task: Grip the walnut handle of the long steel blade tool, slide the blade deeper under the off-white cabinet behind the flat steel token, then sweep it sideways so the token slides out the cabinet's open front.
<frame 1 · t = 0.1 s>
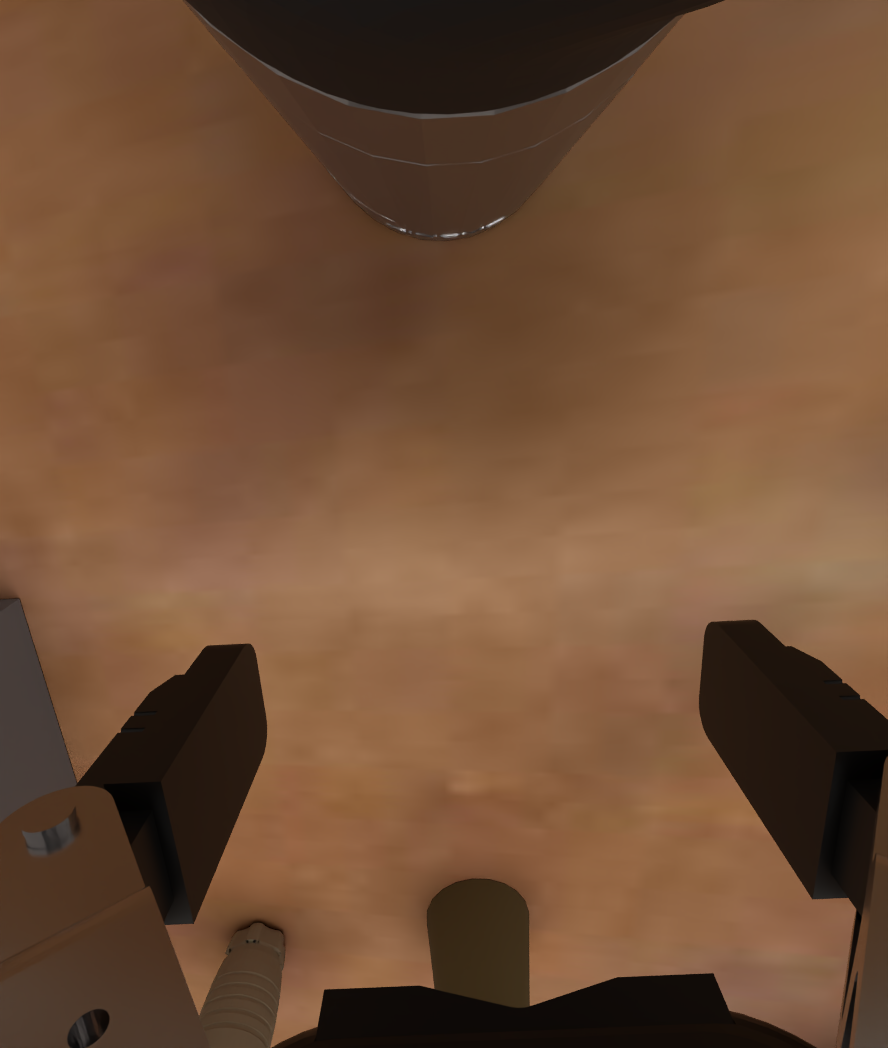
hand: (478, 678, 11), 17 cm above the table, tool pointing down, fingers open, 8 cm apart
handle: (261, 935, 37), on the table
cork: (477, 914, 37), on the table
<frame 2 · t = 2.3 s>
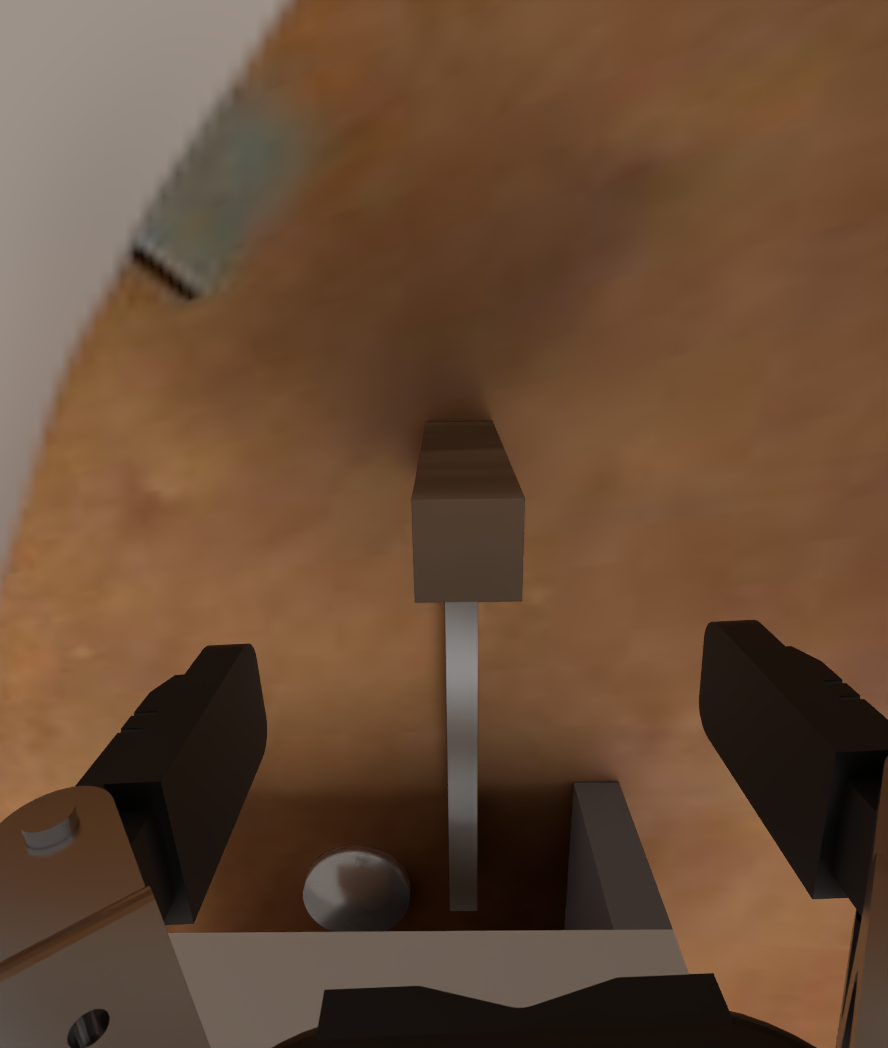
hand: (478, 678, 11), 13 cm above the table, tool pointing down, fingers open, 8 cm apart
blade tool: (459, 453, 23), on the table
token: (359, 879, 30), on the table
cabinet: (422, 946, 31), on the table
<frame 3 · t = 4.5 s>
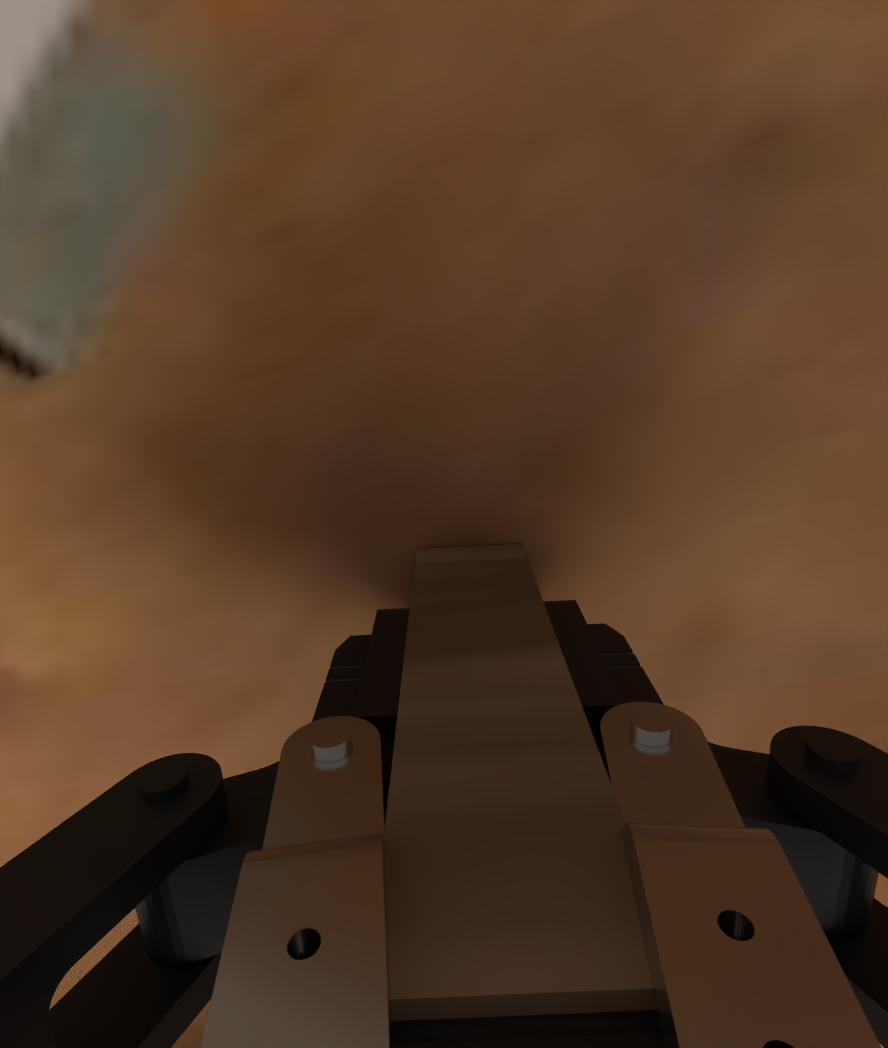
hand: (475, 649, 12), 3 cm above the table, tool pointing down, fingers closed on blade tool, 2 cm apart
blade tool: (471, 594, 15), on the table, touching gripper
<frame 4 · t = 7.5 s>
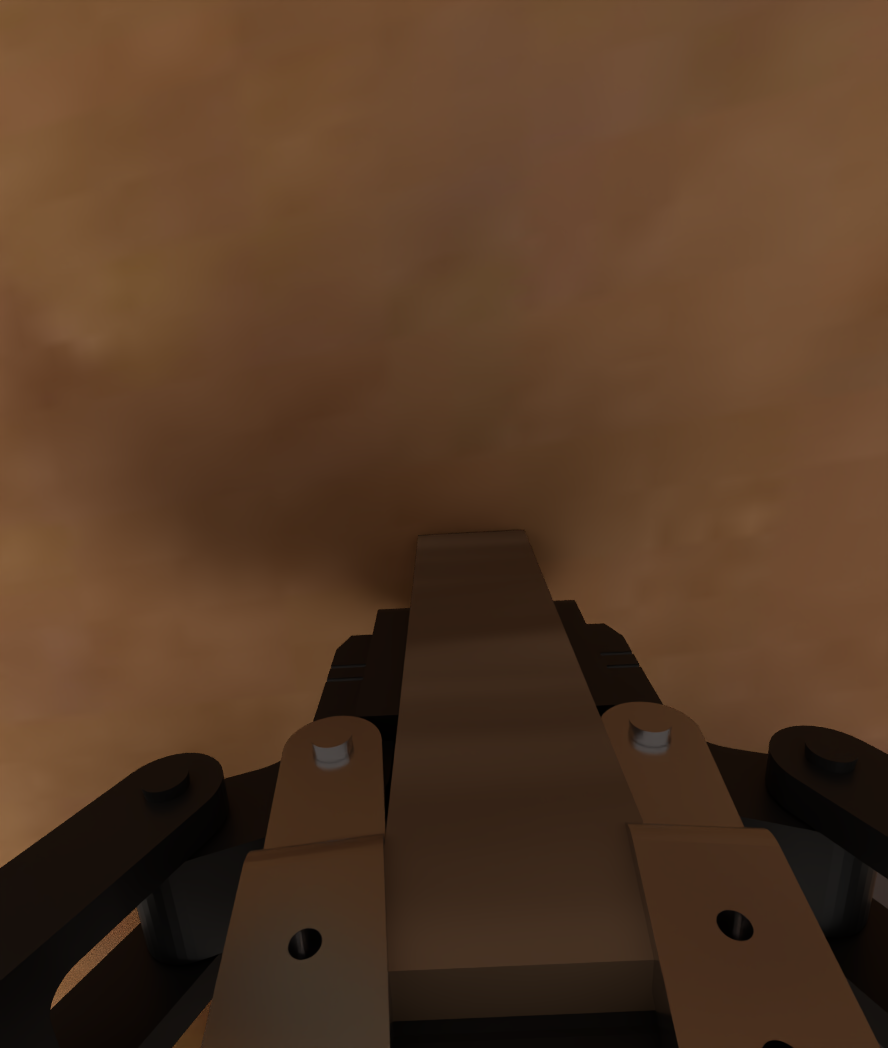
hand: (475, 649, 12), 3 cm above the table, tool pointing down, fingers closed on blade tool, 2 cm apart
blade tool: (473, 581, 14), on the table, touching gripper, token
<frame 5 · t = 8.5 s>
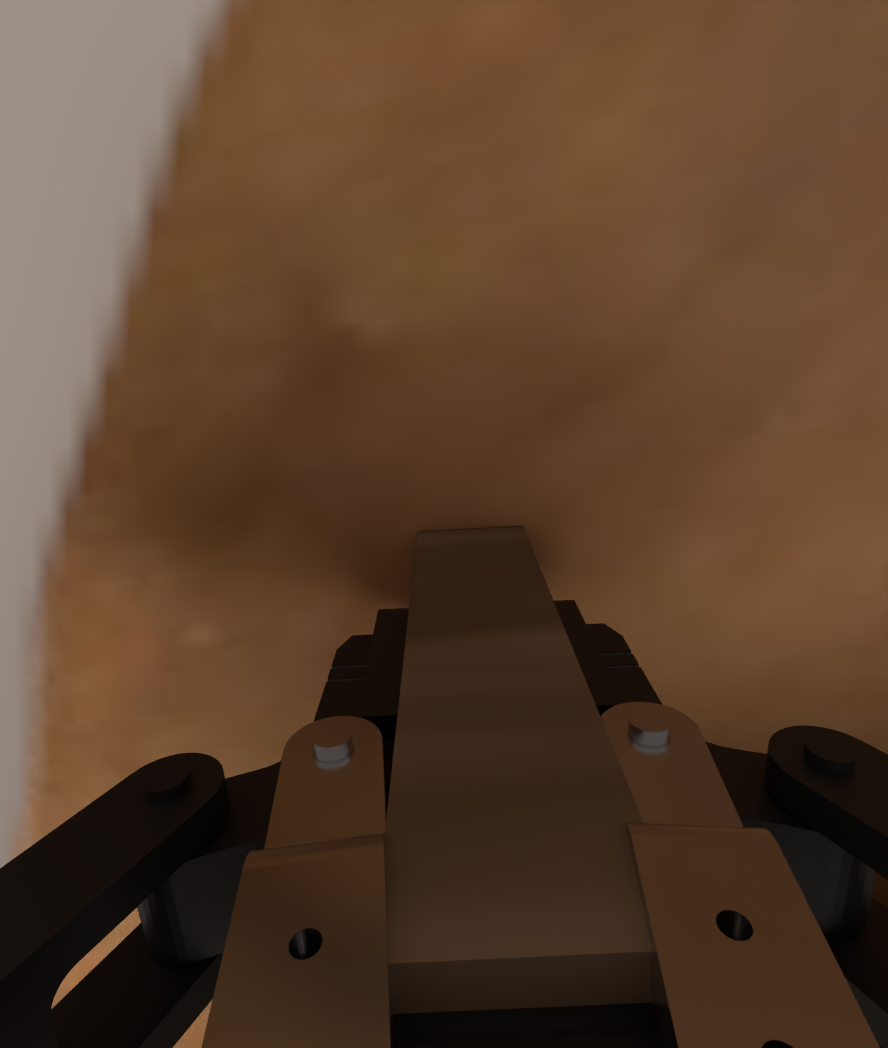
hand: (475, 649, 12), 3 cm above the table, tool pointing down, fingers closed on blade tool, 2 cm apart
blade tool: (472, 577, 14), on the table, touching gripper
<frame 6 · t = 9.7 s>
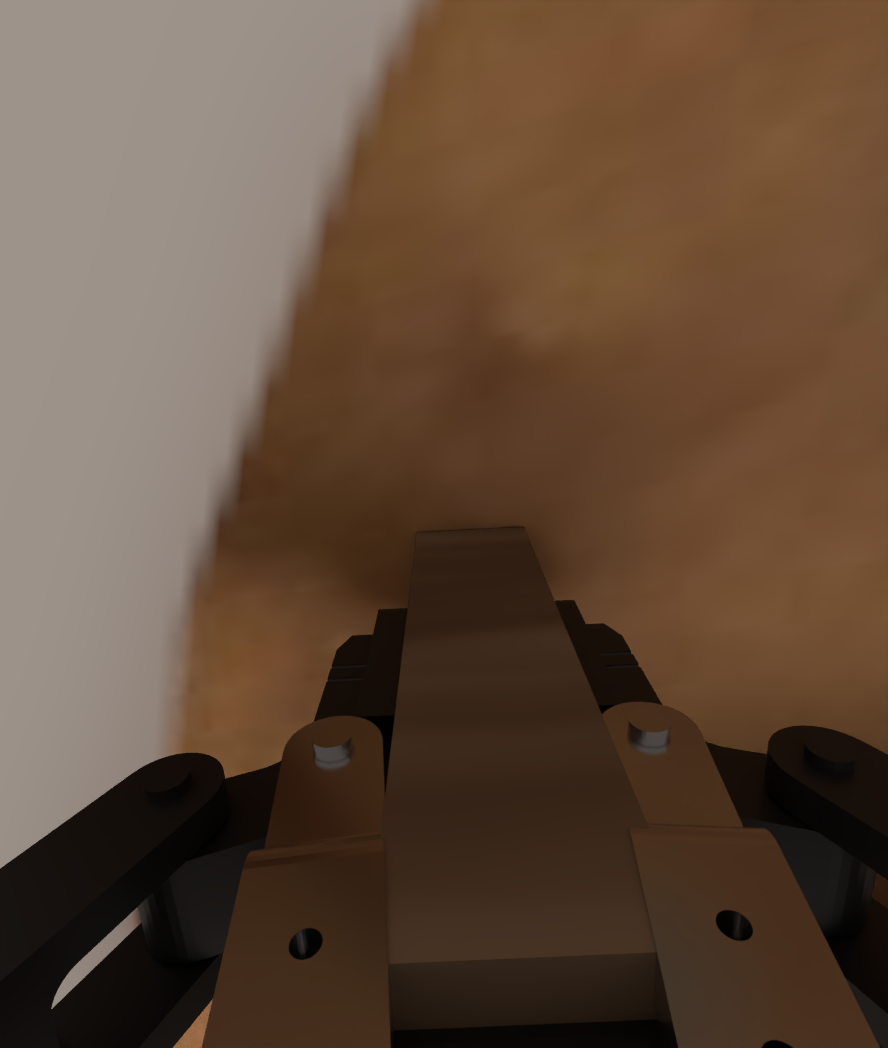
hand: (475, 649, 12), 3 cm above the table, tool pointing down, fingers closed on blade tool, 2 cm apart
blade tool: (472, 578, 14), on the table, touching gripper, token
when the fingers open (3 cm above the table, at t = 10.5 s): blade tool stays where it is, on the table.
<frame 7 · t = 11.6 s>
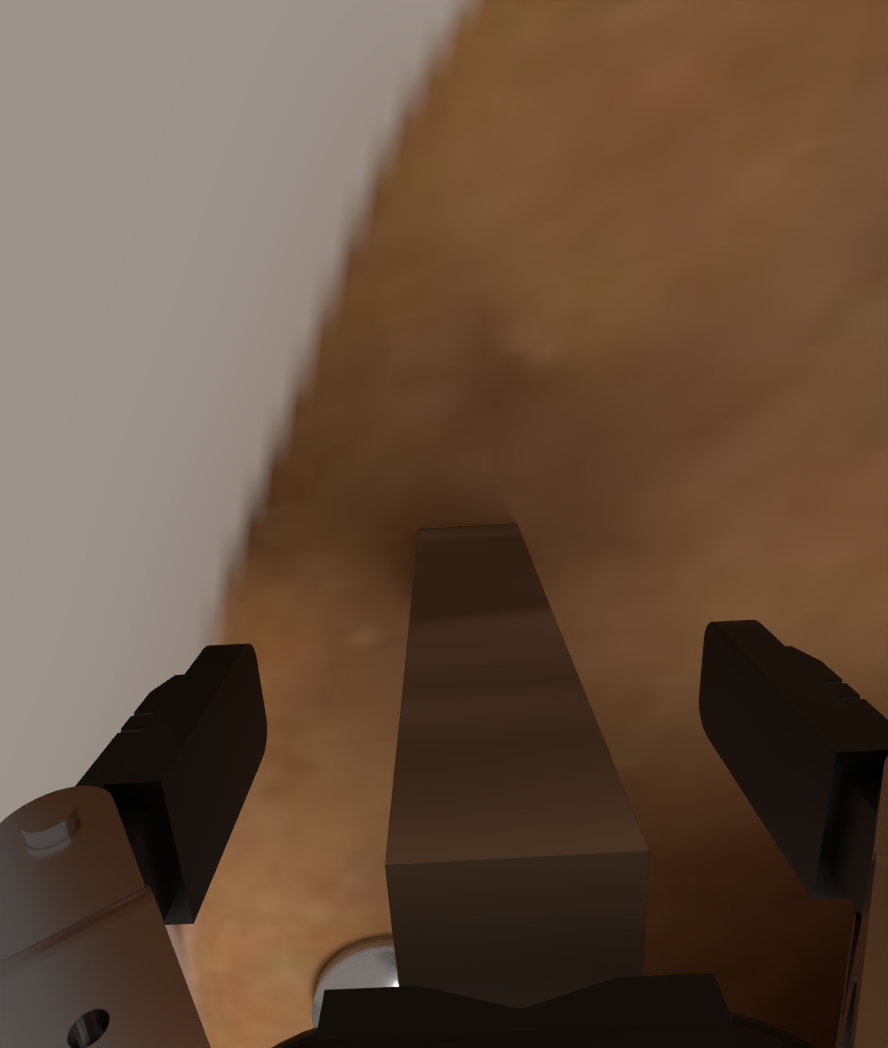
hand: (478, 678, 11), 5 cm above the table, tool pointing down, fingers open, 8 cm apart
blade tool: (470, 572, 16), on the table
token: (394, 984, 20), on the table
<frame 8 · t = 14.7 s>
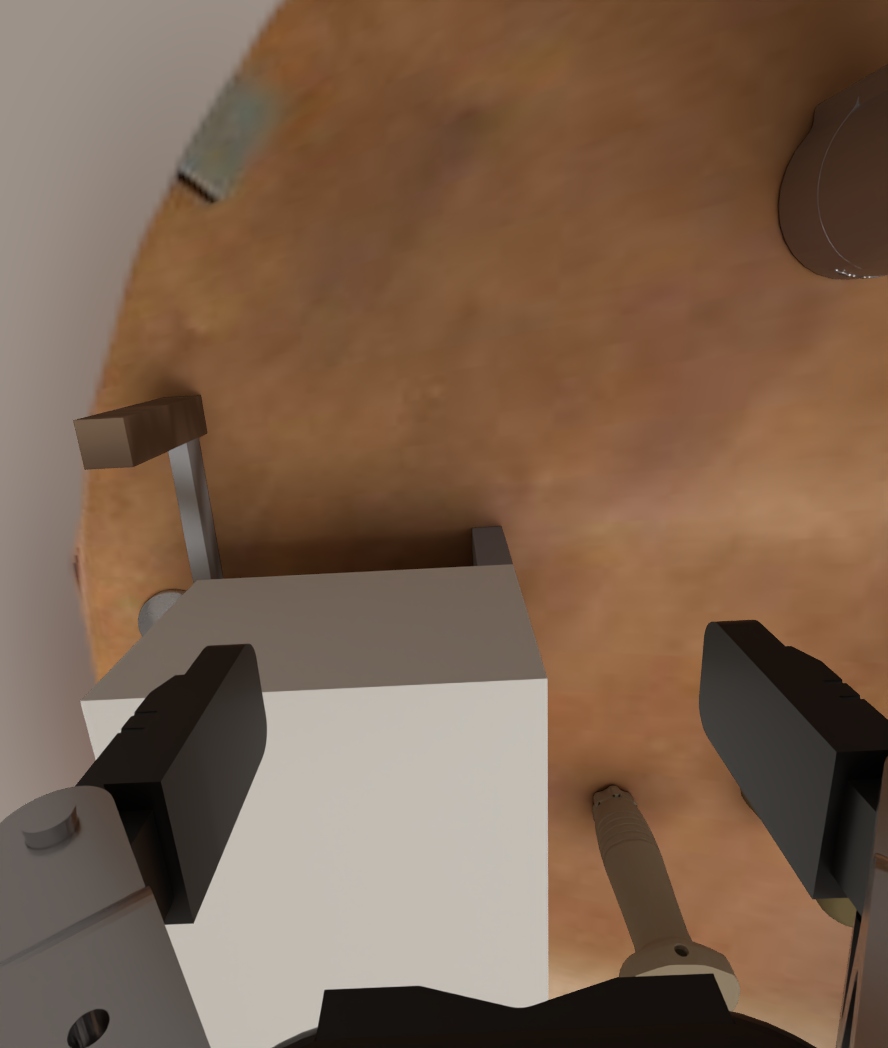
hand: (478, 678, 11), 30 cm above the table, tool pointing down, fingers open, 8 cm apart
blade tool: (185, 415, 40), on the table
token: (180, 619, 44), on the table
cabinet: (380, 664, 45), on the table
handle: (610, 798, 49), on the table
cork: (777, 780, 48), on the table
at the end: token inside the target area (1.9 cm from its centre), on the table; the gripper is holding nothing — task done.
